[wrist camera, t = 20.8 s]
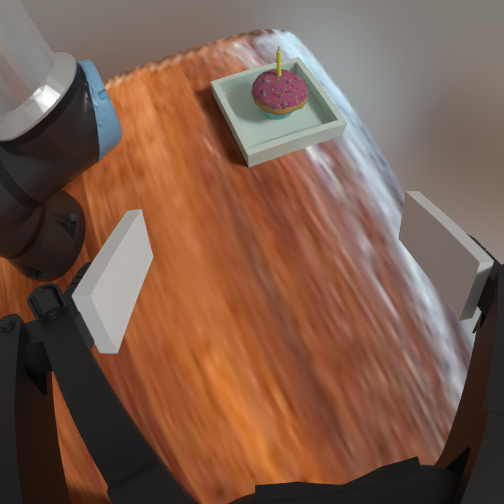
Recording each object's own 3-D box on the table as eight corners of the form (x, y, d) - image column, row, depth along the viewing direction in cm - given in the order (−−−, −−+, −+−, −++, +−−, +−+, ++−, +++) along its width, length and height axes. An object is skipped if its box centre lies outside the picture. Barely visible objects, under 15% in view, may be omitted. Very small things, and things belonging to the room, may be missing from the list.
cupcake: (247, 94, 49) (244, 41, 37) (296, 87, 49) (303, 34, 37) (258, 133, 47) (257, 80, 35) (312, 125, 47) (323, 73, 35)
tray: (213, 95, 50) (210, 81, 47) (297, 70, 51) (298, 57, 48) (248, 167, 46) (247, 155, 43) (342, 135, 48) (346, 123, 44)
